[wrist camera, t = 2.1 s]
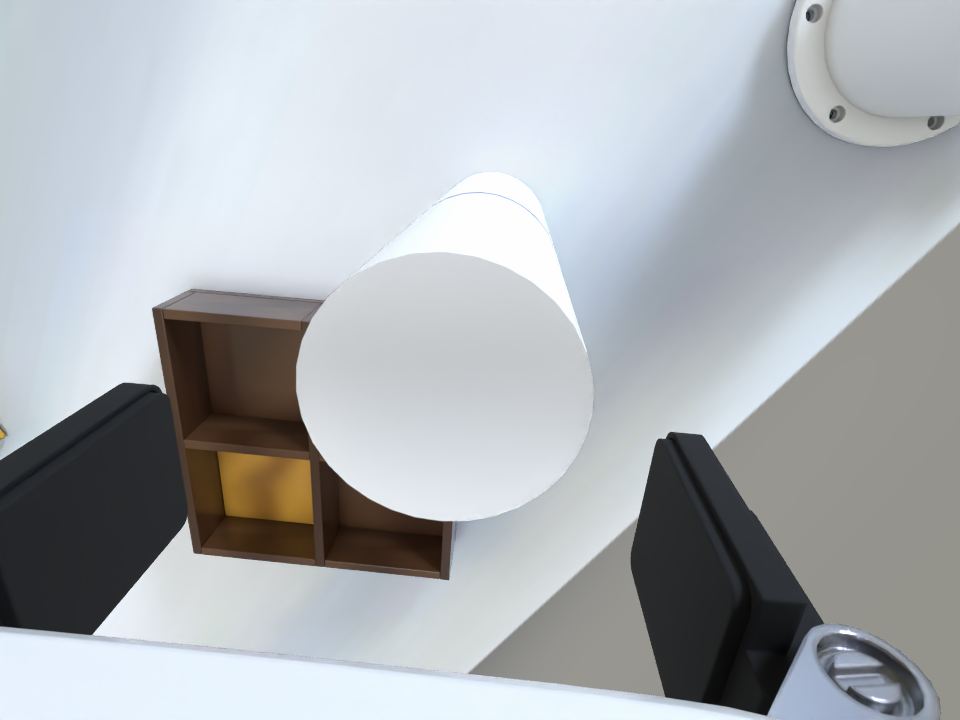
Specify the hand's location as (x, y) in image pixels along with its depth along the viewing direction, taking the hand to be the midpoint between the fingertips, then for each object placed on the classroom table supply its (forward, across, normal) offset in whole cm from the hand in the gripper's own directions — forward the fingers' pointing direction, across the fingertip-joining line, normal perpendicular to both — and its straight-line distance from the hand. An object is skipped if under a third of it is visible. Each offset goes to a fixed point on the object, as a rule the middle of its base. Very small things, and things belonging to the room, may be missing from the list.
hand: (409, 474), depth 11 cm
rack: (+28, +11, +16) cm, 34 cm away
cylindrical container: (+28, 0, 0) cm, 28 cm away
